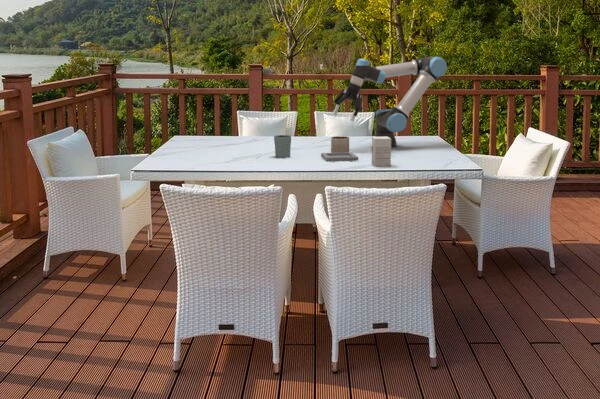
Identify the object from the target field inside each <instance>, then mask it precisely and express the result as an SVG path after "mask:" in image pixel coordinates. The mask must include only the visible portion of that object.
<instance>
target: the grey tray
mask: <svg viewBox="0 0 600 399" xmlns="http://www.w3.org/2000/svg"><path fill="white" fill-rule="evenodd" d="M320 157H321V159H323V160H324V161H325V162H330V163H335V162H353V161H354V162H355V161H356V160H358V161H359V156H357V155H356V154H354V153H353V152H351V151H349V152H346V153H331V152H321V153H320ZM356 162H357V161H356Z"/></svg>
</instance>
